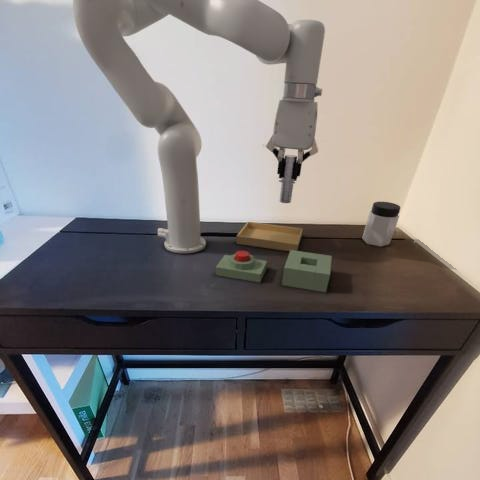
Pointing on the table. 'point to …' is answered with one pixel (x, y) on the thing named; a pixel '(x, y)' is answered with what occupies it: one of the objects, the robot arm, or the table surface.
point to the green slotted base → (307, 271)
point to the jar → (381, 223)
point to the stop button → (242, 256)
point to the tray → (270, 236)
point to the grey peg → (287, 178)
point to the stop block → (241, 268)
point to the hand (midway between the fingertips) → (288, 177)
